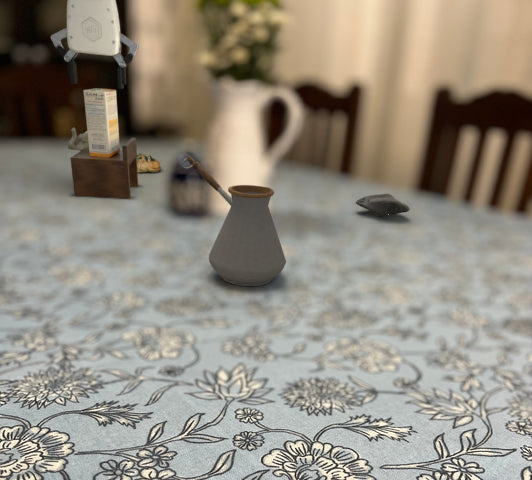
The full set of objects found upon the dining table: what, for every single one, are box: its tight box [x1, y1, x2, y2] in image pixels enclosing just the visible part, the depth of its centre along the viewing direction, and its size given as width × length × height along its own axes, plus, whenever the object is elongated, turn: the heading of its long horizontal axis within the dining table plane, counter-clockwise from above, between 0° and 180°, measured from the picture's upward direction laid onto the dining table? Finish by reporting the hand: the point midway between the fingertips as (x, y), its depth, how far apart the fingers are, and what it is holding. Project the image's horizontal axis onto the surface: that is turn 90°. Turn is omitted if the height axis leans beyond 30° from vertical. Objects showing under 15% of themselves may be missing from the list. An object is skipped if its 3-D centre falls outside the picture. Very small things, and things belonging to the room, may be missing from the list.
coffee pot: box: [181, 155, 287, 287], centre depth 77 cm, size 21×12×15 cm, turn 42°
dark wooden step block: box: [70, 137, 139, 200], centre depth 118 cm, size 12×14×11 cm
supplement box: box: [83, 87, 121, 157], centre depth 114 cm, size 8×5×13 cm, turn 178°
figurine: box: [67, 127, 89, 152], centre depth 129 cm, size 10×14×15 cm, turn 138°
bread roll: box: [137, 152, 162, 174], centre depth 145 cm, size 11×11×5 cm
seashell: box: [355, 193, 411, 218], centre depth 116 cm, size 12×6×10 cm
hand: (97, 85), depth 110 cm, fingers open, 9 cm apart
